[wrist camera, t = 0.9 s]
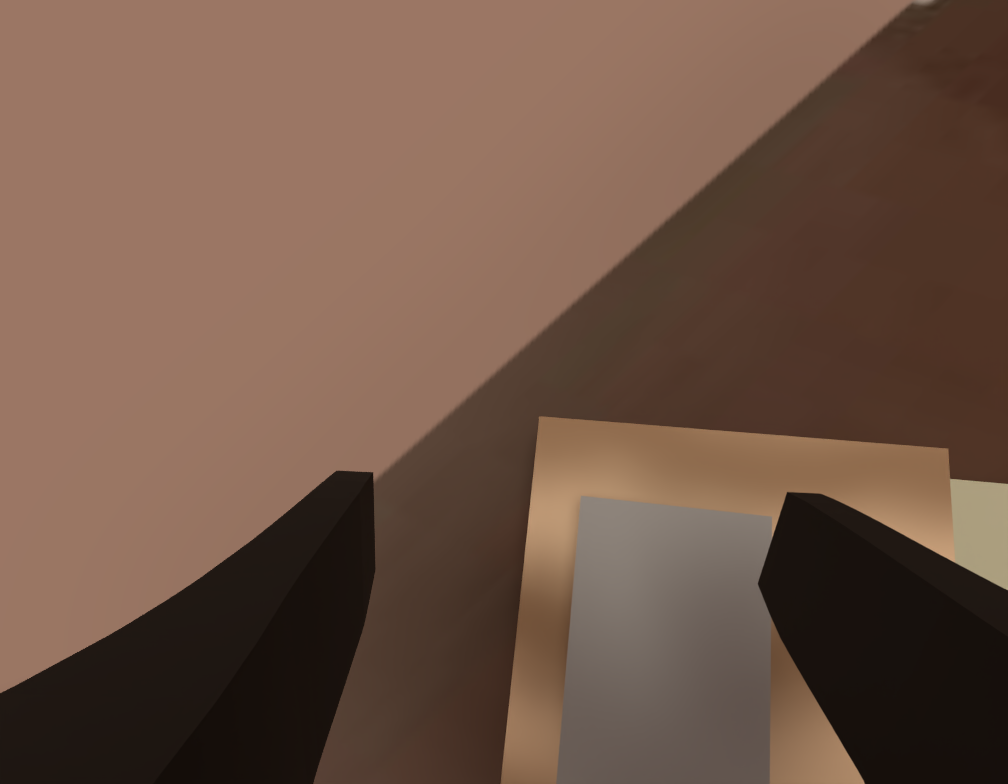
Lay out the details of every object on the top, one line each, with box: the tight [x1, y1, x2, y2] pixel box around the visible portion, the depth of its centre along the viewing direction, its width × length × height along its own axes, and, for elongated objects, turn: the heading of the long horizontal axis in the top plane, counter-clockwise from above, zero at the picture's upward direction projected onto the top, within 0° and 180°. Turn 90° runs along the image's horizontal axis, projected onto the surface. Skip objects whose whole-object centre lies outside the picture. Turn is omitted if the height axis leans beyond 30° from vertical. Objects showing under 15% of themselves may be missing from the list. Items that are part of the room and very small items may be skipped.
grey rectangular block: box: [556, 496, 772, 784], centre depth 18 cm, size 9×6×2 cm, turn 173°
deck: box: [501, 416, 955, 784], centre depth 20 cm, size 15×14×4 cm
